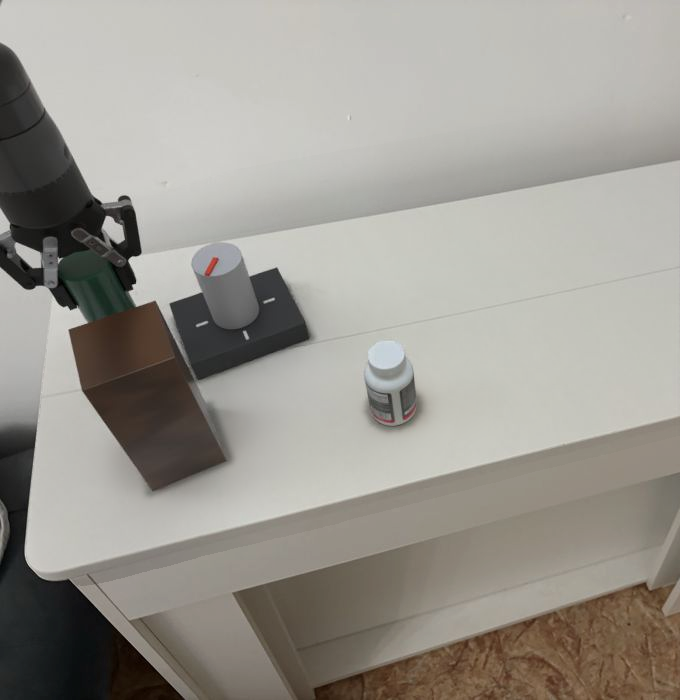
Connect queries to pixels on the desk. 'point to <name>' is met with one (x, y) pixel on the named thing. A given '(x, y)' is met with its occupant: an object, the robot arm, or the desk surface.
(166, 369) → the stand
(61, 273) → the tea tin
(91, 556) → the desk surface
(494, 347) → the desk surface
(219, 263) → the grey round cylinder
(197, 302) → the dark grey panel
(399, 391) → the pill bottle
